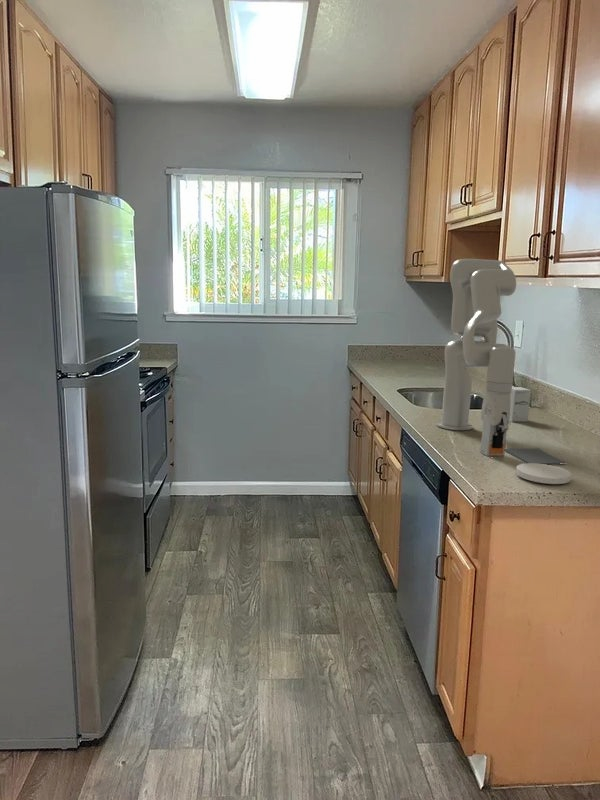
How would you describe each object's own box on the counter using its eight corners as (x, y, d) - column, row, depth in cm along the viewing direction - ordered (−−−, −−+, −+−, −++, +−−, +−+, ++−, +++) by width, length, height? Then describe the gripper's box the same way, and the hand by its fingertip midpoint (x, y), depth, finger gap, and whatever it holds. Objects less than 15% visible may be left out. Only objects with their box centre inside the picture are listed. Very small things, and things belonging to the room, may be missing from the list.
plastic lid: (504, 475, 177) (505, 466, 177) (538, 469, 184) (539, 460, 184) (546, 490, 166) (547, 481, 165) (581, 483, 173) (582, 474, 172)
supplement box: (511, 422, 245) (515, 389, 243) (500, 418, 252) (503, 386, 250) (528, 421, 247) (531, 389, 245) (516, 417, 254) (520, 386, 252)
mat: (503, 450, 203) (503, 448, 203) (537, 449, 205) (538, 448, 205) (529, 464, 188) (529, 463, 187) (566, 464, 190) (566, 462, 190)
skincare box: (487, 456, 195) (490, 418, 193) (479, 452, 199) (483, 414, 197) (504, 455, 196) (508, 417, 194) (496, 451, 200) (500, 414, 198)
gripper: (475, 382, 201) (469, 438, 205) (500, 392, 185) (494, 453, 188) (497, 382, 202) (491, 438, 206) (524, 392, 186) (517, 453, 190)
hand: (492, 445), depth 197 cm, fingers closed on skincare box, 4 cm apart
